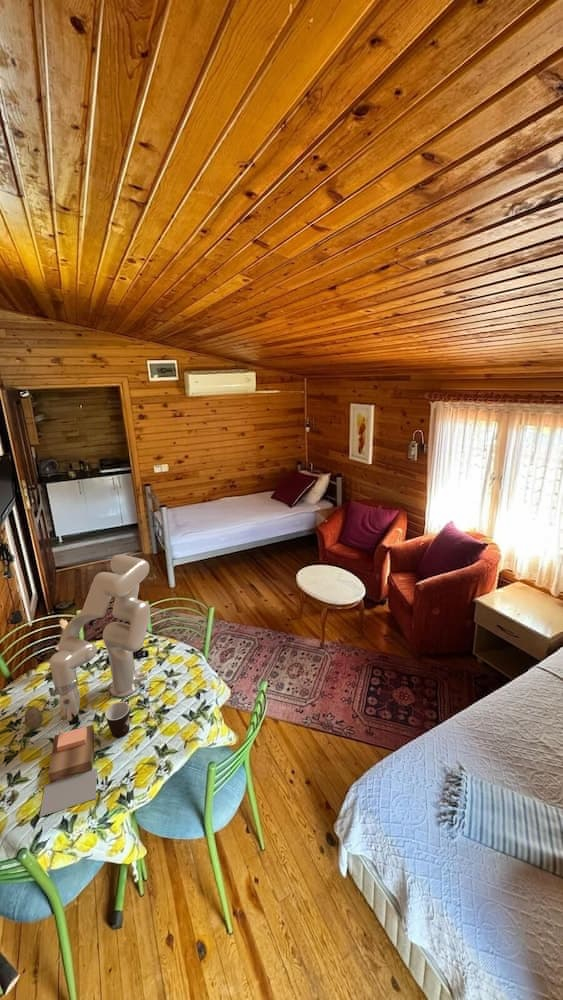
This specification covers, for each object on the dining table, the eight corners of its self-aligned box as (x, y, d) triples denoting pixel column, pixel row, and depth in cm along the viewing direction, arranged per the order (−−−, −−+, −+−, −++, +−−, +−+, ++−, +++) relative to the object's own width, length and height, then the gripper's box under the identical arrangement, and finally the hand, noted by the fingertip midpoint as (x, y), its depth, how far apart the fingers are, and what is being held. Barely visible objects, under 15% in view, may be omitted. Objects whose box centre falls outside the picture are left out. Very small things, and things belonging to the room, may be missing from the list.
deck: (94, 732, 155) (93, 724, 154) (92, 769, 141) (90, 760, 140) (56, 743, 151) (54, 735, 150) (50, 782, 137) (48, 773, 135)
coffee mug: (118, 744, 150) (114, 723, 147) (103, 734, 155) (100, 713, 151) (143, 722, 160) (140, 702, 156) (129, 713, 164) (126, 693, 161)
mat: (97, 769, 141) (97, 768, 141) (95, 798, 131) (95, 798, 131) (45, 785, 136) (44, 784, 136) (39, 817, 126) (39, 817, 126)
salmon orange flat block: (87, 730, 152) (86, 726, 151) (85, 743, 146) (85, 739, 146) (60, 738, 148) (59, 733, 148) (58, 751, 143) (57, 747, 143)
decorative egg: (46, 720, 161) (42, 700, 158) (41, 732, 155) (36, 712, 152) (30, 722, 160) (25, 702, 157) (24, 735, 154) (18, 714, 151)
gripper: (75, 695, 143) (83, 735, 149) (79, 667, 156) (86, 705, 162) (51, 701, 140) (60, 742, 146) (57, 672, 154) (65, 711, 159)
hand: (74, 722), depth 154 cm, fingers closed
